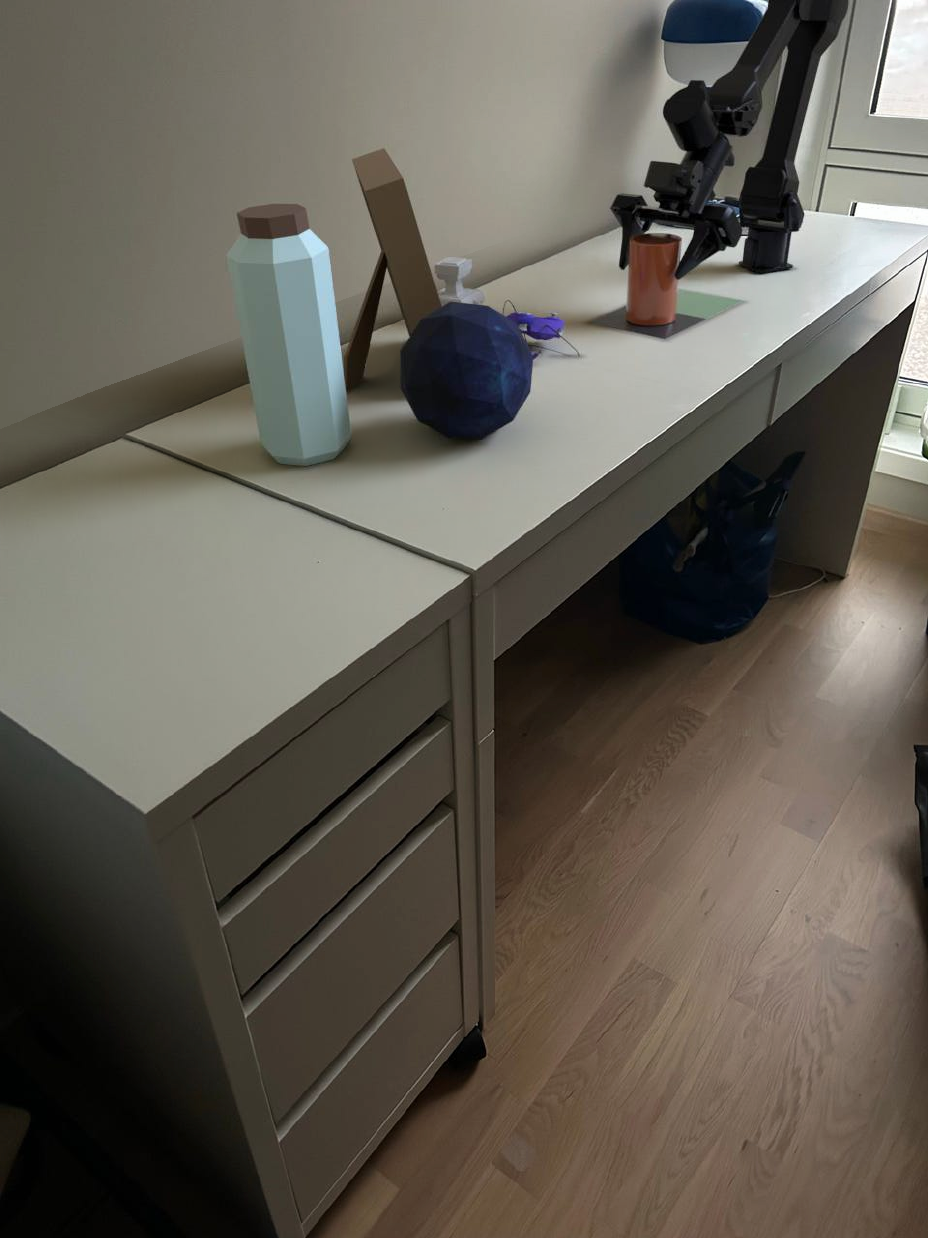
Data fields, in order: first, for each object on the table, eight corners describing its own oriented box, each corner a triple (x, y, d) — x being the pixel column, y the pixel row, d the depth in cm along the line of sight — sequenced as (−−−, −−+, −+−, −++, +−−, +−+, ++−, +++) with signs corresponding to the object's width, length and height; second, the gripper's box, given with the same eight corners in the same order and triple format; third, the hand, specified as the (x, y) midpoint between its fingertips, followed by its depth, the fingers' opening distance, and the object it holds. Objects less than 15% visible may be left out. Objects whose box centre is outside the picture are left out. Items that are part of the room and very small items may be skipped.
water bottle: (266, 435, 109) (225, 203, 95) (353, 428, 109) (325, 196, 95) (258, 473, 101) (212, 225, 86) (352, 465, 101) (321, 217, 87)
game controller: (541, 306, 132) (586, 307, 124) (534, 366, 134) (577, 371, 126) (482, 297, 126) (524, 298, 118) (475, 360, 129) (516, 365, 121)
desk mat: (668, 288, 149) (668, 287, 149) (742, 301, 142) (742, 300, 141) (588, 323, 137) (588, 321, 137) (665, 340, 129) (665, 338, 129)
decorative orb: (552, 357, 110) (470, 255, 103) (567, 407, 98) (474, 295, 91) (459, 432, 115) (375, 339, 108) (461, 488, 103) (367, 387, 96)
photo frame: (440, 338, 134) (428, 144, 120) (465, 393, 117) (454, 173, 102) (336, 349, 133) (311, 153, 118) (346, 406, 115) (317, 184, 101)
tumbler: (643, 308, 141) (648, 230, 134) (685, 316, 137) (691, 236, 130) (616, 320, 137) (619, 240, 130) (657, 329, 132) (663, 247, 126)
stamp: (418, 322, 141) (414, 263, 136) (441, 309, 146) (437, 252, 141) (471, 329, 137) (468, 269, 132) (492, 315, 142) (490, 257, 137)
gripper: (620, 130, 131) (570, 230, 131) (742, 138, 120) (687, 247, 120) (649, 182, 140) (602, 275, 140) (764, 194, 129) (713, 295, 129)
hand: (648, 272), depth 132 cm, fingers open, 9 cm apart
